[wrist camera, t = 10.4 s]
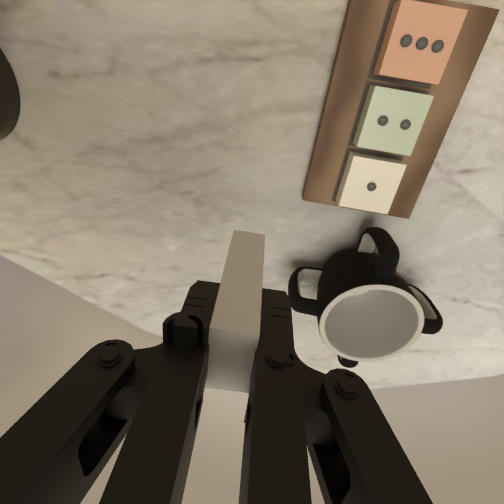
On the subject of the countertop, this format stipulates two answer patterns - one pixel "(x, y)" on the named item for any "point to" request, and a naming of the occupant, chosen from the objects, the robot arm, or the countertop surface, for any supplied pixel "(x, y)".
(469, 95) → the countertop surface
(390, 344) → the mug
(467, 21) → the board
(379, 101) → the key
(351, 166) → the key
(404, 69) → the key
